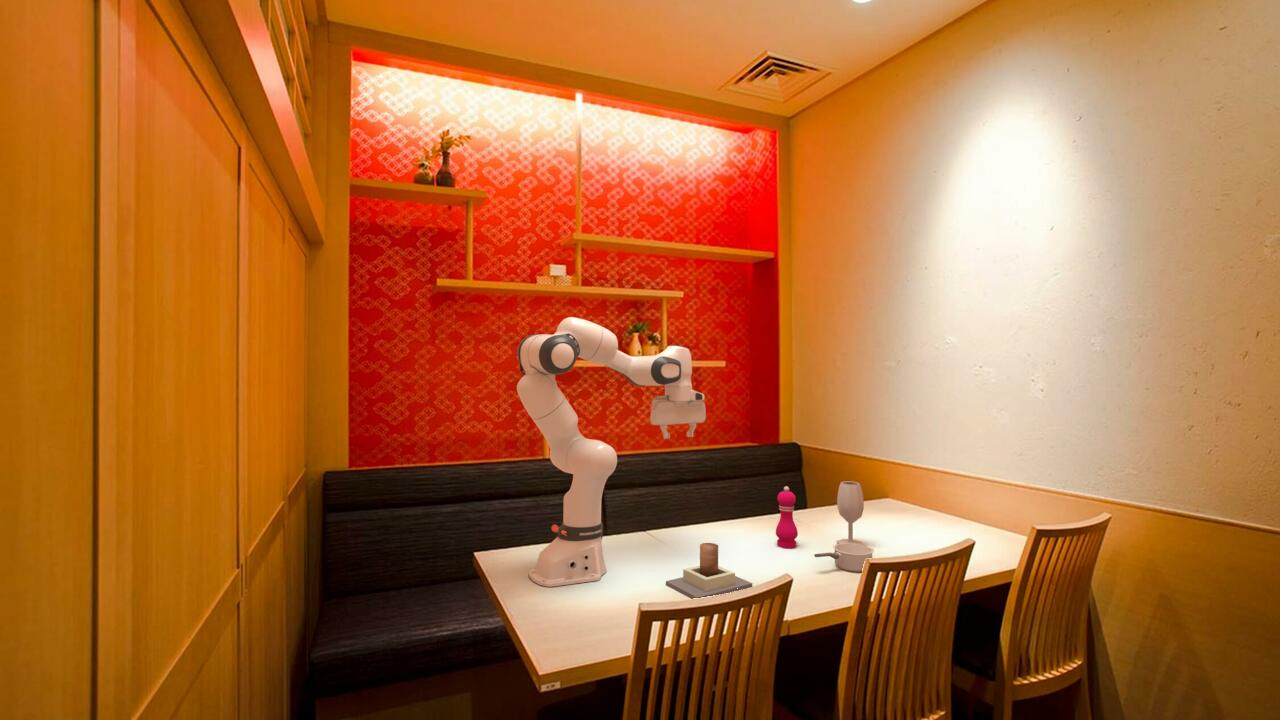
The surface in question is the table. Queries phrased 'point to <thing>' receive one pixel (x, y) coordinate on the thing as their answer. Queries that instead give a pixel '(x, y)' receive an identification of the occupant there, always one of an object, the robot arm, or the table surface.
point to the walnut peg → (708, 559)
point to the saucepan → (849, 556)
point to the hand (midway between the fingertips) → (678, 437)
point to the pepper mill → (786, 520)
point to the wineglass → (850, 507)
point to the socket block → (707, 583)
